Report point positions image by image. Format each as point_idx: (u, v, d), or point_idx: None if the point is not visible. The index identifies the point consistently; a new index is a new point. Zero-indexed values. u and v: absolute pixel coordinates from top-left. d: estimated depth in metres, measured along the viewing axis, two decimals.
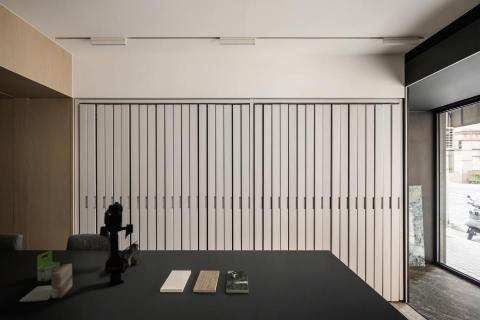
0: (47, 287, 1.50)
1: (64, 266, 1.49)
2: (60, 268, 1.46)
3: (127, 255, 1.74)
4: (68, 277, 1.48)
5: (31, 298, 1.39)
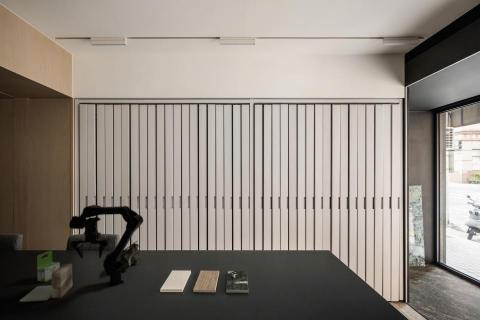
0: (47, 287, 1.50)
1: (64, 266, 1.49)
2: (60, 268, 1.46)
3: (127, 255, 1.74)
4: (68, 277, 1.48)
5: (31, 298, 1.39)
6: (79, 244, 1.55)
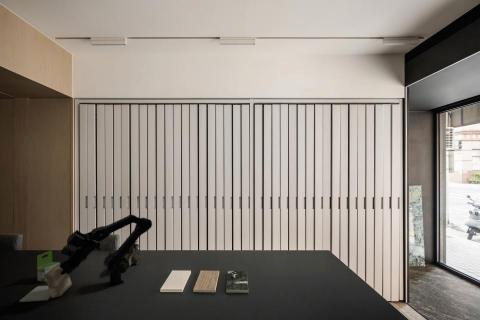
0: (47, 287, 1.50)
1: (57, 266, 1.48)
2: (53, 269, 1.46)
3: (127, 255, 1.74)
4: (64, 276, 1.48)
5: (31, 298, 1.39)
6: None
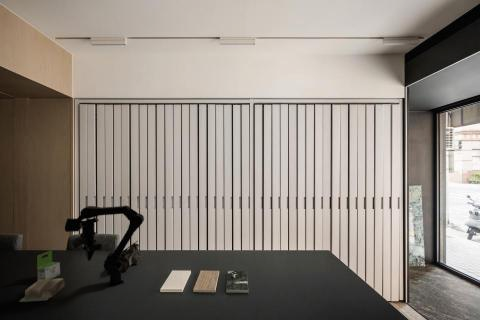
0: None
1: None
2: None
3: (128, 255, 1.75)
4: (47, 282, 1.47)
5: None
6: None
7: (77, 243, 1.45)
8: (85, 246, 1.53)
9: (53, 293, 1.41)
